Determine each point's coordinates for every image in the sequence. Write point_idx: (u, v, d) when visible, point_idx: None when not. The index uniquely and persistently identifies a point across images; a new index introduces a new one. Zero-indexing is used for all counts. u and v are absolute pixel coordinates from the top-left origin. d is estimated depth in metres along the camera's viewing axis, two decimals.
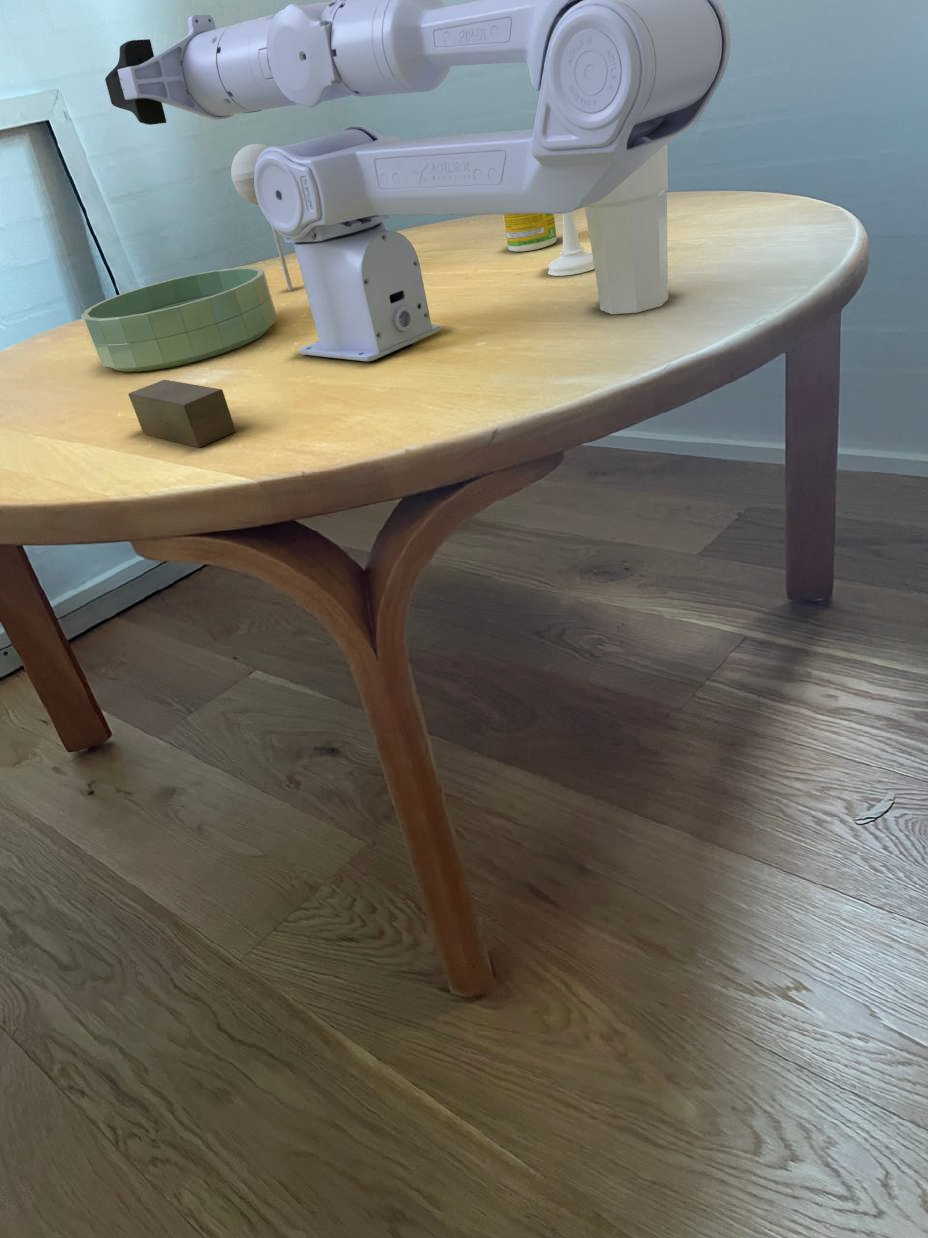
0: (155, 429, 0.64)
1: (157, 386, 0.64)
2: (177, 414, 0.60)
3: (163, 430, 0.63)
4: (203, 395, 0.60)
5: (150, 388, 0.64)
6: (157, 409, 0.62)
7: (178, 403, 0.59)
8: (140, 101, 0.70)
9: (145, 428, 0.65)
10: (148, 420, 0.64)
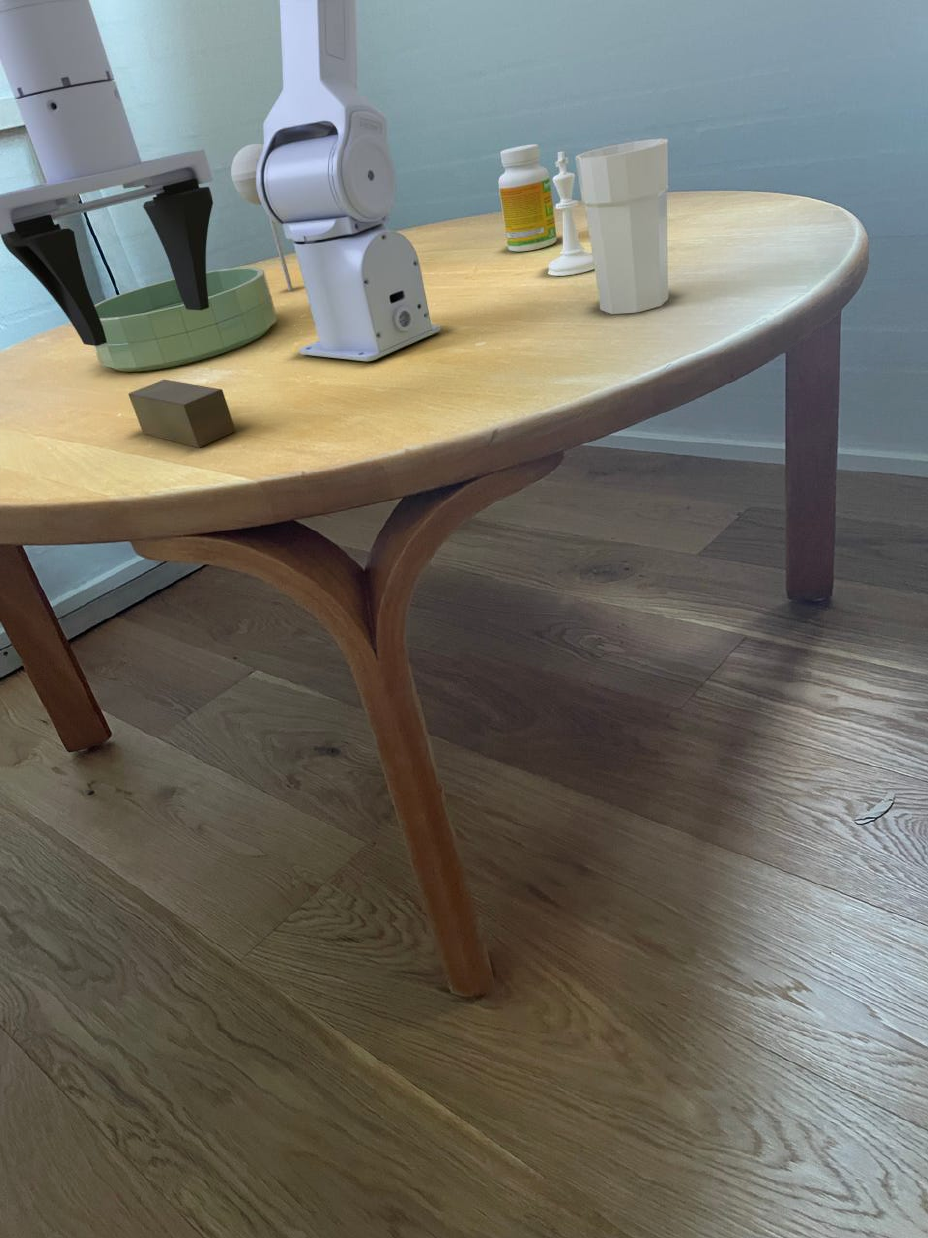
0: (155, 429, 0.64)
1: (157, 386, 0.64)
2: (177, 414, 0.60)
3: (163, 430, 0.63)
4: (203, 395, 0.60)
5: (150, 388, 0.64)
6: (157, 409, 0.62)
7: (178, 403, 0.59)
8: (29, 236, 0.53)
9: (145, 428, 0.65)
10: (148, 420, 0.64)
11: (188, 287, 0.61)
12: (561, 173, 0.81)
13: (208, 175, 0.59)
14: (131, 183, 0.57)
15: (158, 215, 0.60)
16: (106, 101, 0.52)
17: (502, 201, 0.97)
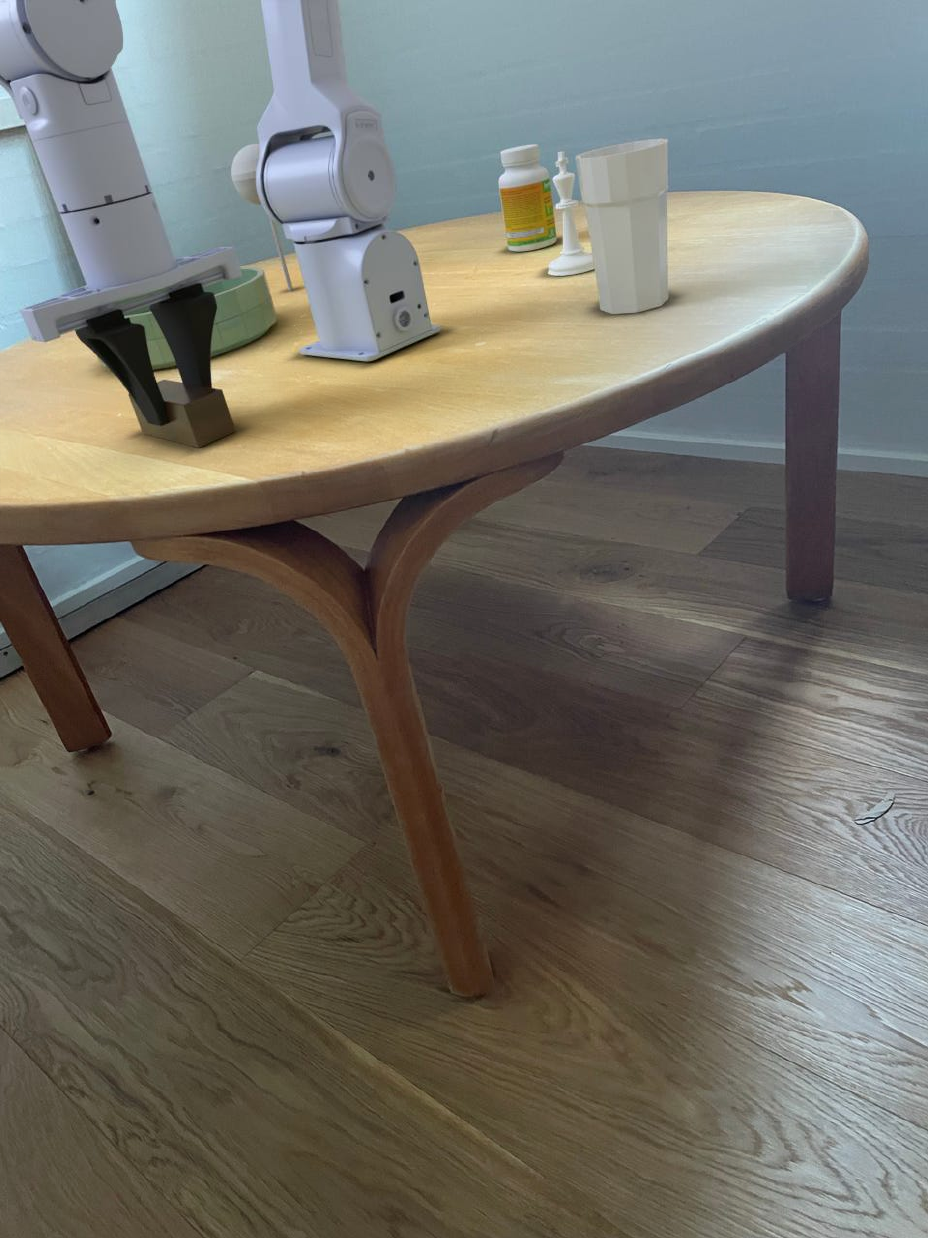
0: (155, 429, 0.64)
1: None
2: (177, 414, 0.60)
3: (163, 430, 0.63)
4: (203, 395, 0.60)
5: None
6: None
7: (177, 404, 0.59)
8: (103, 331, 0.57)
9: (145, 428, 0.65)
10: None
11: None
12: (561, 173, 0.81)
13: (238, 271, 0.62)
14: None
15: (164, 317, 0.62)
16: (145, 214, 0.55)
17: (502, 201, 0.97)
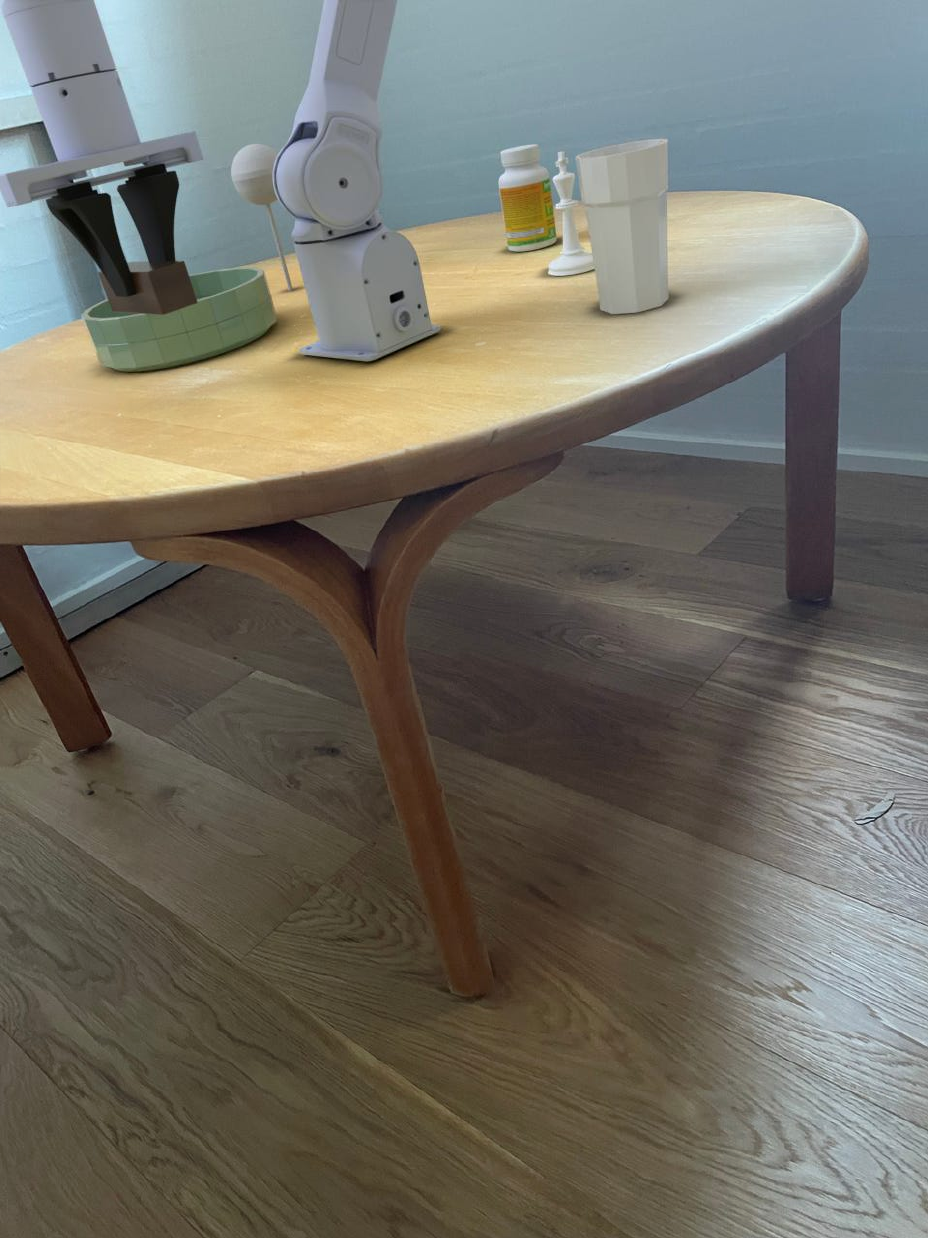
0: (123, 304, 0.69)
1: None
2: (142, 283, 0.65)
3: (130, 303, 0.68)
4: (166, 265, 0.65)
5: None
6: None
7: (142, 272, 0.64)
8: (72, 199, 0.62)
9: (114, 305, 0.70)
10: (116, 296, 0.69)
11: None
12: (561, 173, 0.81)
13: (199, 154, 0.67)
14: (131, 161, 0.65)
15: (130, 196, 0.66)
16: (110, 88, 0.60)
17: (502, 201, 0.97)
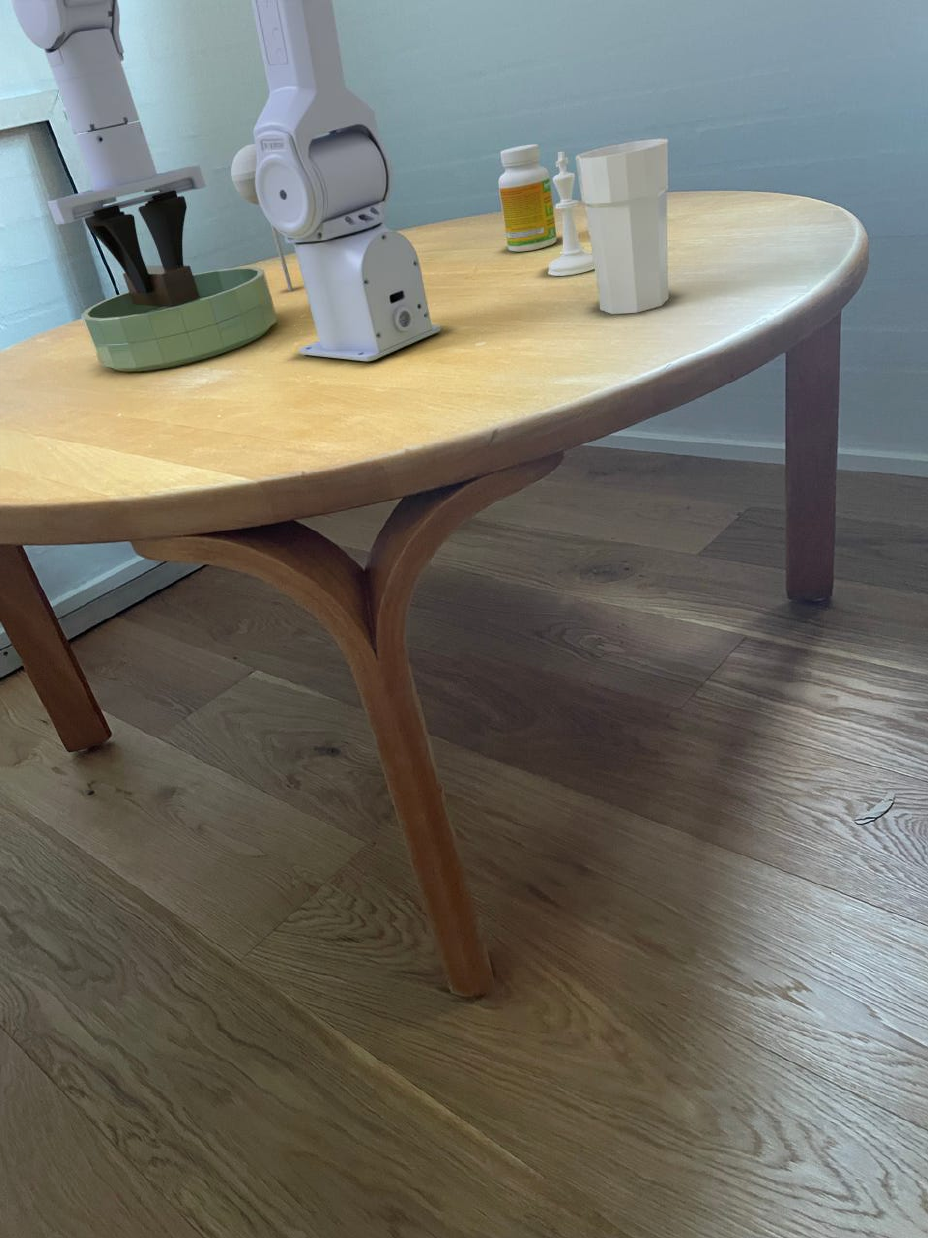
0: (142, 299, 0.88)
1: None
2: (157, 282, 0.84)
3: (147, 298, 0.87)
4: (176, 269, 0.84)
5: None
6: None
7: (157, 274, 0.84)
8: (105, 219, 0.81)
9: (135, 300, 0.89)
10: None
11: None
12: (561, 173, 0.81)
13: (202, 183, 0.86)
14: (150, 189, 0.84)
15: (149, 215, 0.86)
16: (135, 135, 0.79)
17: (502, 201, 0.97)
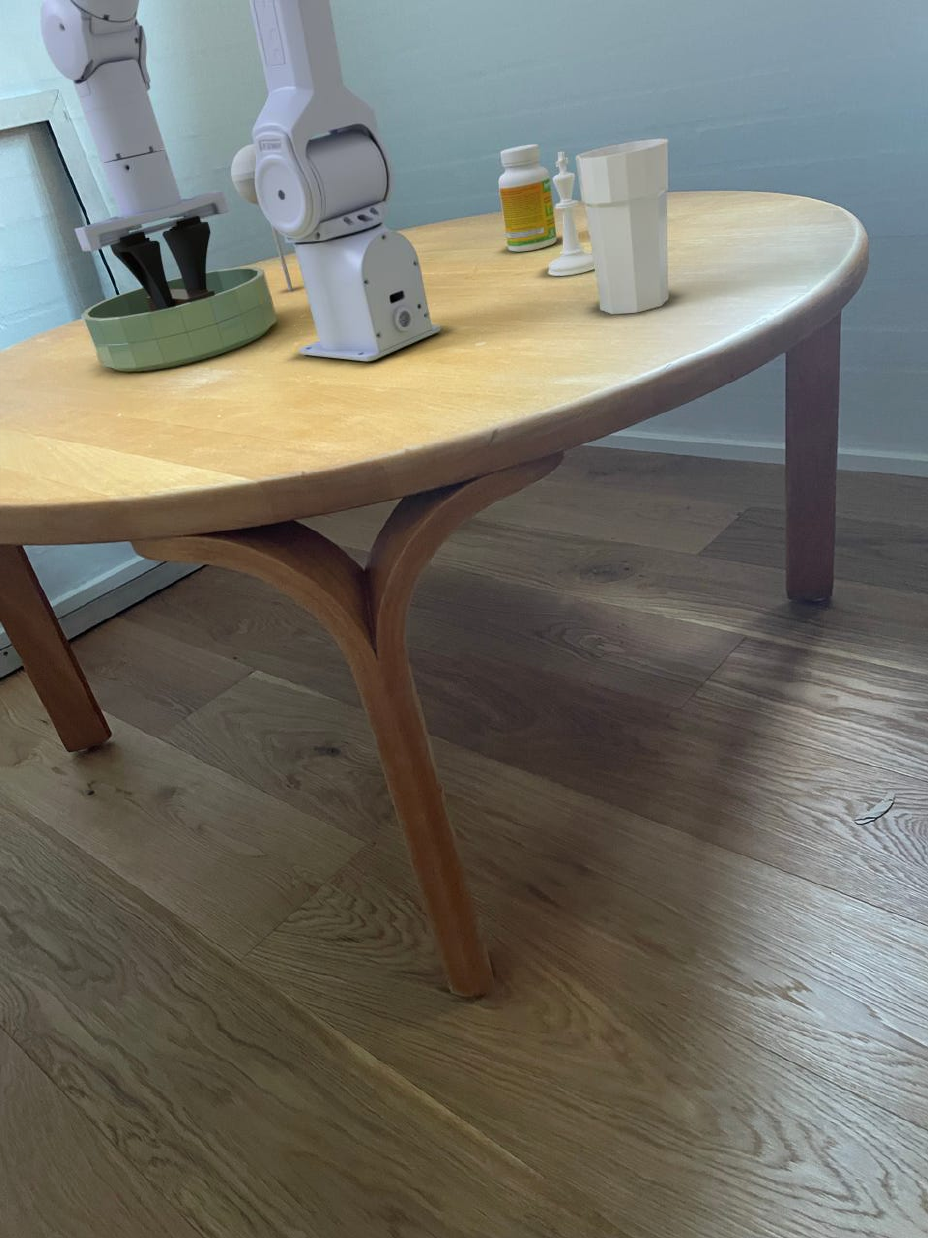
0: None
1: None
2: None
3: None
4: (200, 293, 0.85)
5: None
6: None
7: (182, 299, 0.85)
8: (131, 245, 0.82)
9: None
10: None
11: None
12: (561, 173, 0.81)
13: (225, 208, 0.88)
14: None
15: (173, 240, 0.87)
16: (160, 163, 0.81)
17: (502, 201, 0.97)
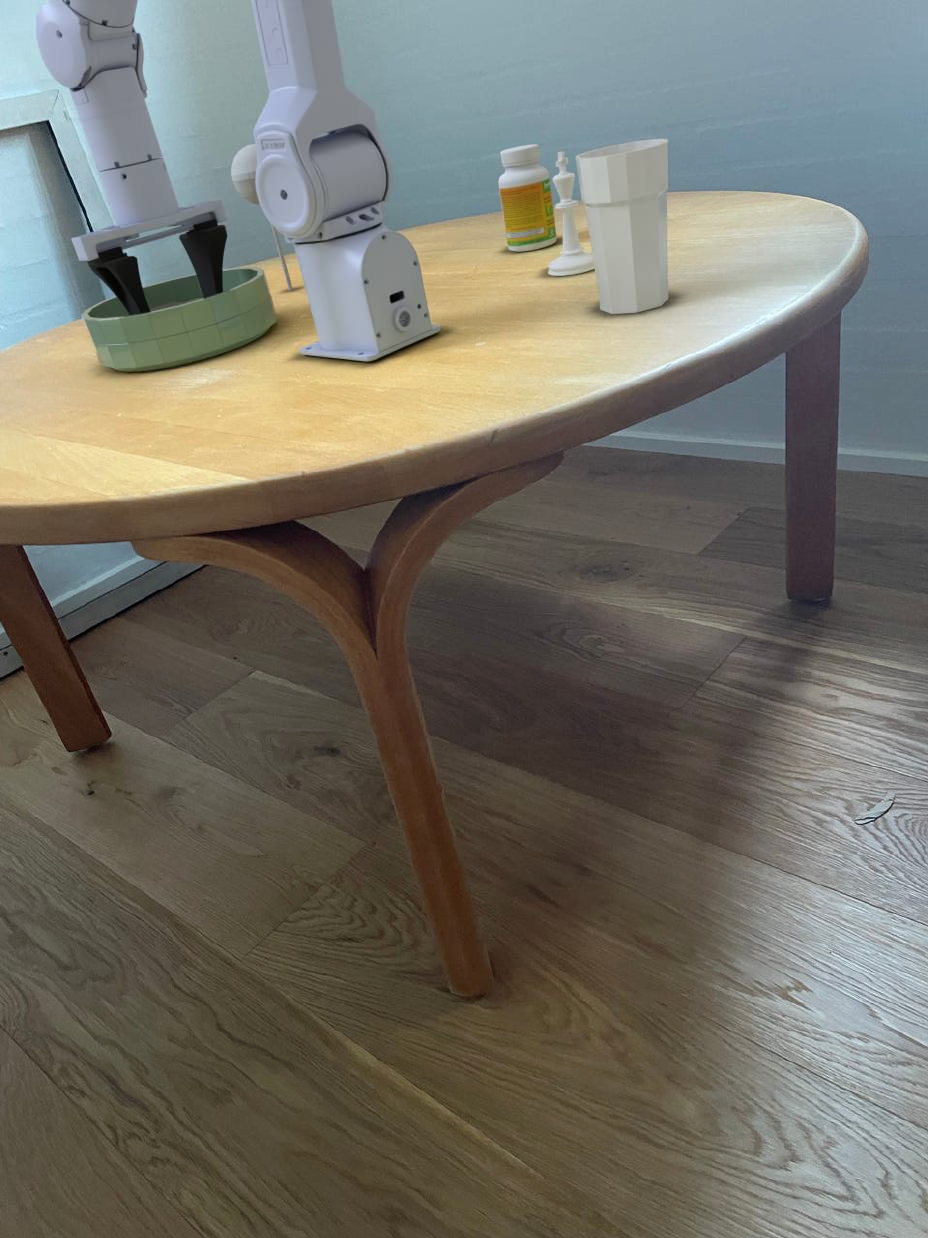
0: None
1: (166, 305, 0.89)
2: None
3: None
4: None
5: (161, 306, 0.89)
6: None
7: None
8: (107, 261, 0.80)
9: None
10: None
11: (210, 293, 0.88)
12: (561, 173, 0.81)
13: (224, 216, 0.87)
14: (172, 223, 0.84)
15: (190, 243, 0.87)
16: (158, 172, 0.80)
17: (502, 201, 0.97)
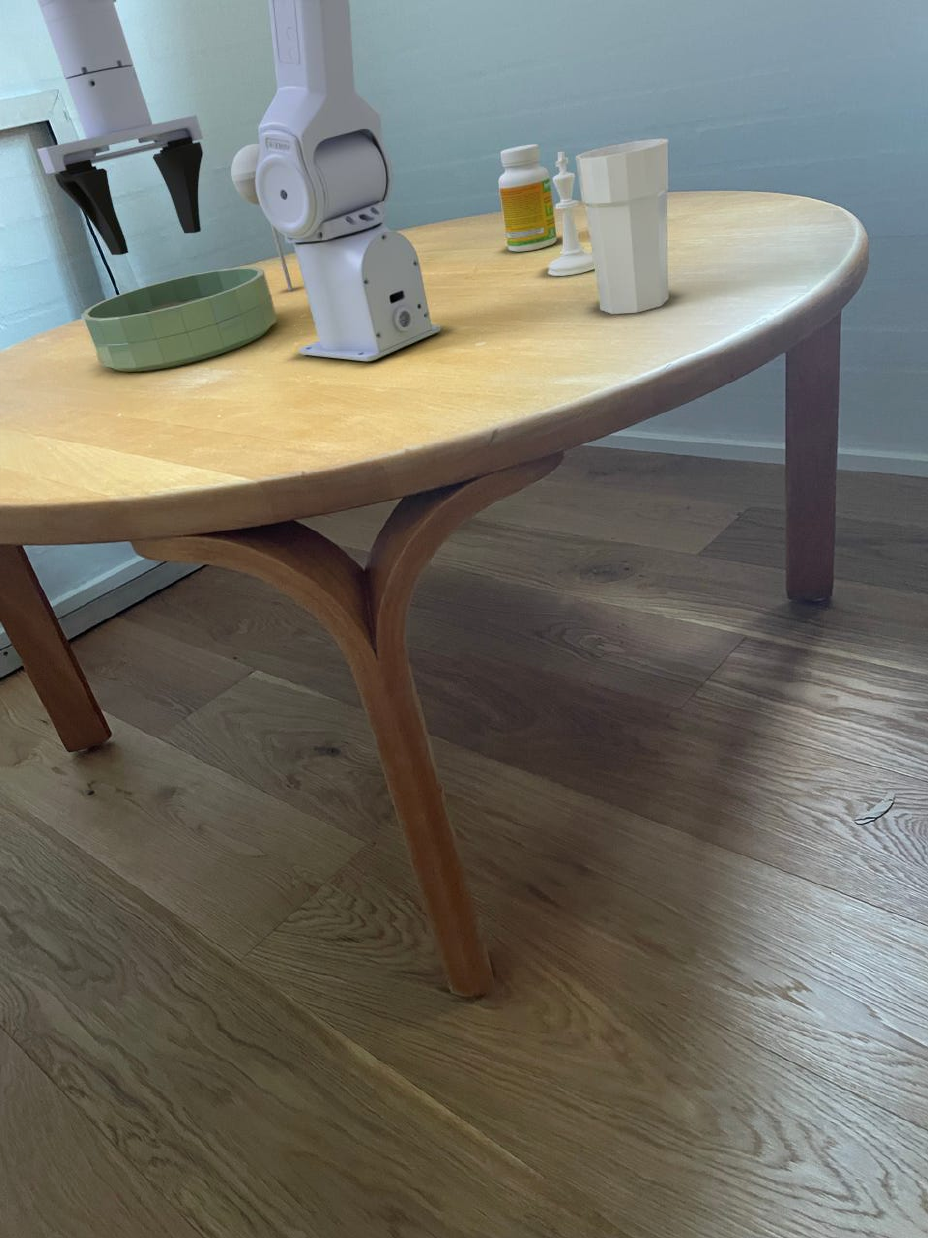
0: None
1: (166, 305, 0.89)
2: None
3: None
4: None
5: (161, 306, 0.89)
6: None
7: None
8: (75, 173, 0.76)
9: None
10: None
11: (186, 216, 0.85)
12: (561, 173, 0.81)
13: (199, 134, 0.83)
14: (145, 139, 0.81)
15: (164, 163, 0.83)
16: (128, 80, 0.76)
17: (502, 201, 0.97)
